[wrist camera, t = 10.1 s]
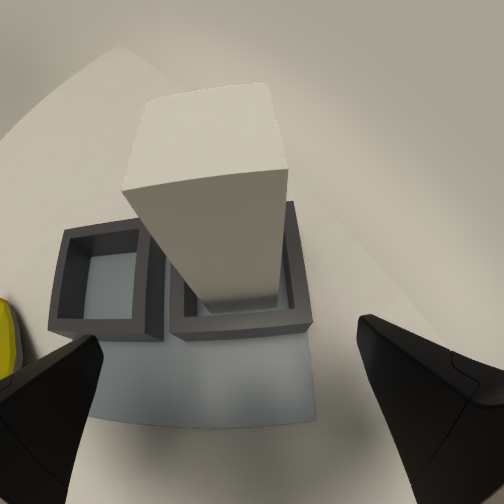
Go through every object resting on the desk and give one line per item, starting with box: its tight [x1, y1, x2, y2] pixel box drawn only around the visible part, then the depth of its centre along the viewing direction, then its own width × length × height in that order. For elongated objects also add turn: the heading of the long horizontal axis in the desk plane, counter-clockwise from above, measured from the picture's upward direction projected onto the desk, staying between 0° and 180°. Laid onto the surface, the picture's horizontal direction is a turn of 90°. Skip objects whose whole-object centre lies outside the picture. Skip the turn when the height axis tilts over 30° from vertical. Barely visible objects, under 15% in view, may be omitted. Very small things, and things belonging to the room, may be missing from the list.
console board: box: [48, 201, 316, 428], centre depth 16 cm, size 13×16×4 cm
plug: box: [121, 82, 288, 314], centre depth 13 cm, size 4×4×12 cm
